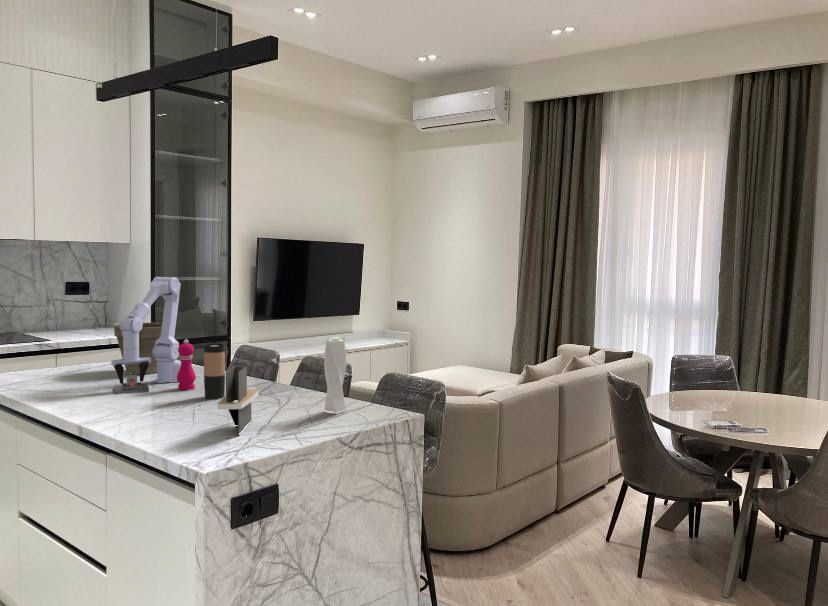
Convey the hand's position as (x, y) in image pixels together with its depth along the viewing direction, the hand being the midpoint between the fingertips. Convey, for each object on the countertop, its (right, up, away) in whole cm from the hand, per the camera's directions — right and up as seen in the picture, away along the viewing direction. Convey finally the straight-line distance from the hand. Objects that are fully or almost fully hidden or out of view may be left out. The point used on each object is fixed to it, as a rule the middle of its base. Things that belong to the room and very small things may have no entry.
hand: (131, 382), depth 264 cm
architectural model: (+57, -9, -55) cm, 79 cm away
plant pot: (-11, 0, +40) cm, 42 cm away
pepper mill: (+20, -3, +4) cm, 21 cm away
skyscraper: (+84, -7, -31) cm, 90 cm away
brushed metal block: (0, -2, 0) cm, 2 cm away
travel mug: (+36, -5, -10) cm, 38 cm away
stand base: (0, -3, 0) cm, 3 cm away
